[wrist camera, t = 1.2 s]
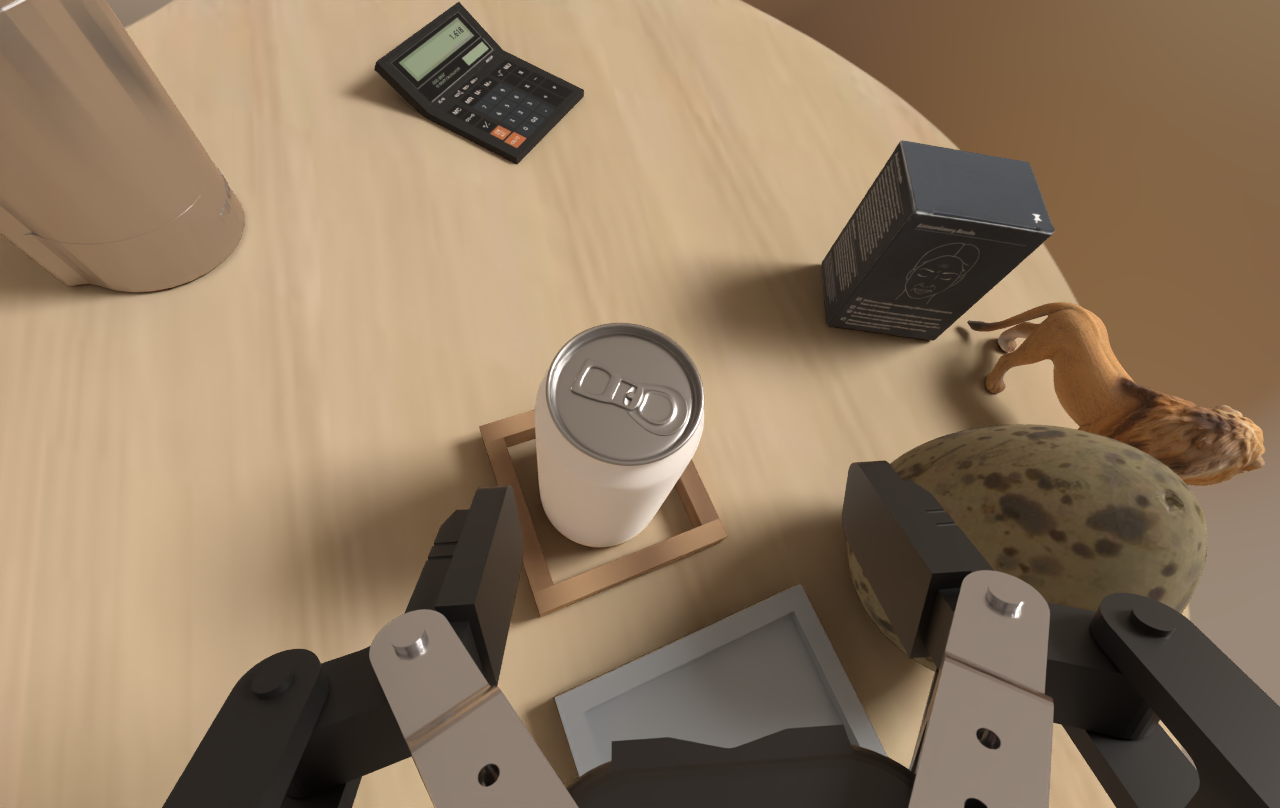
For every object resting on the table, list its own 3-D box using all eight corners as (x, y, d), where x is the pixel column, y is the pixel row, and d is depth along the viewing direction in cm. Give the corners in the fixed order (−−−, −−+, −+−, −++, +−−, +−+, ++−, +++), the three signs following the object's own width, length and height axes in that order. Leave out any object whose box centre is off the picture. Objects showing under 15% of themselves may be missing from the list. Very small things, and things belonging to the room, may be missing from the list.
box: (920, 278, 40) (1032, 159, 31) (932, 343, 38) (1059, 235, 28) (818, 262, 40) (901, 134, 30) (823, 327, 37) (916, 210, 28)
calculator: (517, 167, 40) (515, 131, 37) (383, 99, 41) (371, 59, 38) (583, 100, 44) (585, 63, 41) (459, 39, 45) (454, -1, 42)
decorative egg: (861, 447, 34) (1067, 299, 20) (1019, 564, 32) (1361, 486, 18) (770, 591, 29) (957, 523, 16) (949, 736, 27) (1334, 800, 14)
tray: (667, 1053, 21) (675, 1080, 20) (554, 696, 25) (554, 698, 24) (928, 870, 25) (950, 881, 23) (789, 587, 29) (801, 583, 28)
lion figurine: (1138, 496, 35) (1312, 444, 27) (1084, 531, 33) (1254, 487, 25) (986, 315, 40) (1096, 225, 32) (933, 338, 38) (1035, 250, 30)
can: (632, 569, 28) (681, 508, 18) (517, 519, 29) (498, 430, 18) (674, 461, 31) (738, 353, 21) (570, 417, 32) (580, 288, 21)
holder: (540, 617, 27) (540, 614, 25) (482, 437, 30) (479, 426, 29) (719, 542, 30) (727, 536, 28) (647, 385, 33) (651, 374, 32)
